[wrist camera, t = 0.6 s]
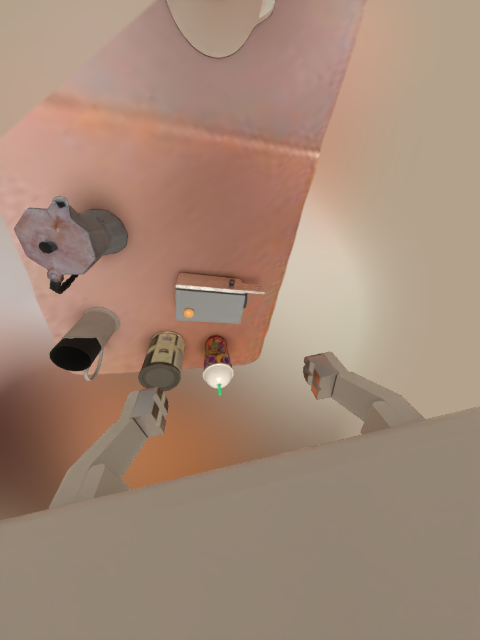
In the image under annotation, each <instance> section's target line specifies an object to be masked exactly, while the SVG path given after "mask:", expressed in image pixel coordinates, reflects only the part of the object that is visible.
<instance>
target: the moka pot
mask: <svg viewBox="0 0 480 640" xmlns="http://www.w3.org/2000/svg"><path fill="white" fill-rule="evenodd" d="M14 230H15V232H16V235H17V237H18V239H19V241H20V243H21V245H22V247H23V249H24V252H25V254H26V255H27V257H29V258H30V259H31V260H33V261H35V262H36V263H38V264H39V265H41V266H43V267H44V268H46V269H47V270H48V272H47V276H48V279H50V289H52V290H53V291H55V292H56V293H58V294H61V293H63V291H65V290H66V289H67V288H68V287H70V285H71V283H72V282H73V281H74V280H75V278H77V277H78V275H81V274H84V273H86V272H87V271H88V269H90V268H91V267H92V266H93V265H94V264H95V263H96V262H97V261H98V260H99V259H100V257H101V256H102V255H108V254H115V253H117V252H119V251H120V250H122V249H123V248H124V247H126V244H127V237H128V236H127V231H126V229H125V227H124V225H123V223H122V222H121V220H120V219H118V218H117V217H116V216H115V215H113V214H112V213H110V212H108V211H106V210H97V209H91V210H88V211H86V212H83V213H81V214H80V213H78V212H76V211H75V210H74V209H73V208H72V207H71V206H70V205H69V204H68V201H67V199H66V198H65V197H62V196H58V197H55V198H54V199H53V201H52V203H51V205H50V206H49V208H48V209H41V208H28V209H27V210H26V211H25V212H24V214H23V215H22V217H21V218H20V220H19V221H18V223H17V224H16V226H15V227H14ZM66 274H70V275H72V276H71V277H70V278H69V279H67V280H66V281H65V282H63V283H62V286H61V282H62V281H63V280H64V277H63V276H64V275H66Z"/></svg>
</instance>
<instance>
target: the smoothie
mask: <svg viewBox="0 0 480 640" xmlns="http://www.w3.org/2000/svg"><path fill="white" fill-rule="evenodd" d="M233 373H234V372H233V369H232V365H231V361H230V357H229V353H228V349H227V345H226V342H225V340H224V339H222V338H221V337H218V336H214V337H211V338H210V339H209V340H208V341H207V342H206V346H205V359H204V371H203V378H204V380H205V381H206V382H207V383H208V384H209V385H210V386H211V387H213V388H218V391H219V395H221V388H223V387H225V386H226V385H227V384H228V383H229V382H230V380H231V378H232V377H233Z"/></svg>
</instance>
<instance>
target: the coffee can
mask: <svg viewBox="0 0 480 640" xmlns="http://www.w3.org/2000/svg"><path fill="white" fill-rule="evenodd" d="M184 346H185V343H184V340H183V338H182V337H181V336H180V335H178V334H177V333H174V332H170V331H163V332H159V333H157V334H156V335H154V336H153V338H152V339H151V343H150V346H149V349H148V352H147V355H146V358H145V360H144V363H143V366H142V369H141V371H140V373H139V376H138V379H139V382H140V383H141V385H142V386H144V387H145V388H147V389H148V388H154V387H162V389H163V391H167V390H171V389H173V388H175V387H176V386H177V385H178V384H179V383H180V380H181V369H182V360H183V352H184Z"/></svg>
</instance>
